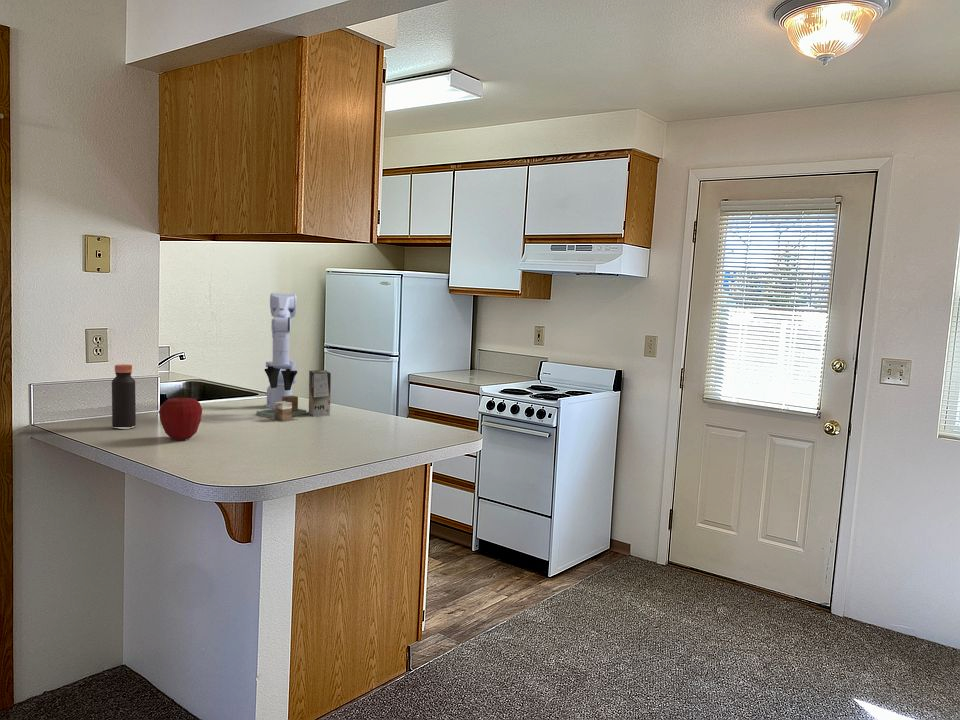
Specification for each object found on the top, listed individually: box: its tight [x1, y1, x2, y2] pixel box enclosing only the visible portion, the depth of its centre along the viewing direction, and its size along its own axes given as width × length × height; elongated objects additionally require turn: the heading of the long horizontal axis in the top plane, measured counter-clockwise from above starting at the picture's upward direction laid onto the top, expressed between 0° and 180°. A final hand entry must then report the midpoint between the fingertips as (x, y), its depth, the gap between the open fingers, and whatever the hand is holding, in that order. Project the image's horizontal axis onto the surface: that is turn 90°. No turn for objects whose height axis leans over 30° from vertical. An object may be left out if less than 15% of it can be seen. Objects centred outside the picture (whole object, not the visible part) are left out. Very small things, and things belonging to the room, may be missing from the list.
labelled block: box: [274, 401, 293, 421], centre depth 254 cm, size 4×4×6 cm
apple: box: [158, 395, 203, 441], centre depth 219 cm, size 12×12×13 cm
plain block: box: [282, 395, 299, 412], centre depth 267 cm, size 4×4×6 cm
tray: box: [256, 408, 307, 419], centre depth 265 cm, size 10×14×2 cm
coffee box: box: [308, 369, 332, 417], centre depth 267 cm, size 9×6×16 cm
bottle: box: [111, 363, 137, 427], centre depth 232 cm, size 7×7×20 cm
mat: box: [269, 417, 299, 423], centre depth 254 cm, size 7×7×1 cm
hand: (280, 389), depth 261 cm, fingers open, 7 cm apart
